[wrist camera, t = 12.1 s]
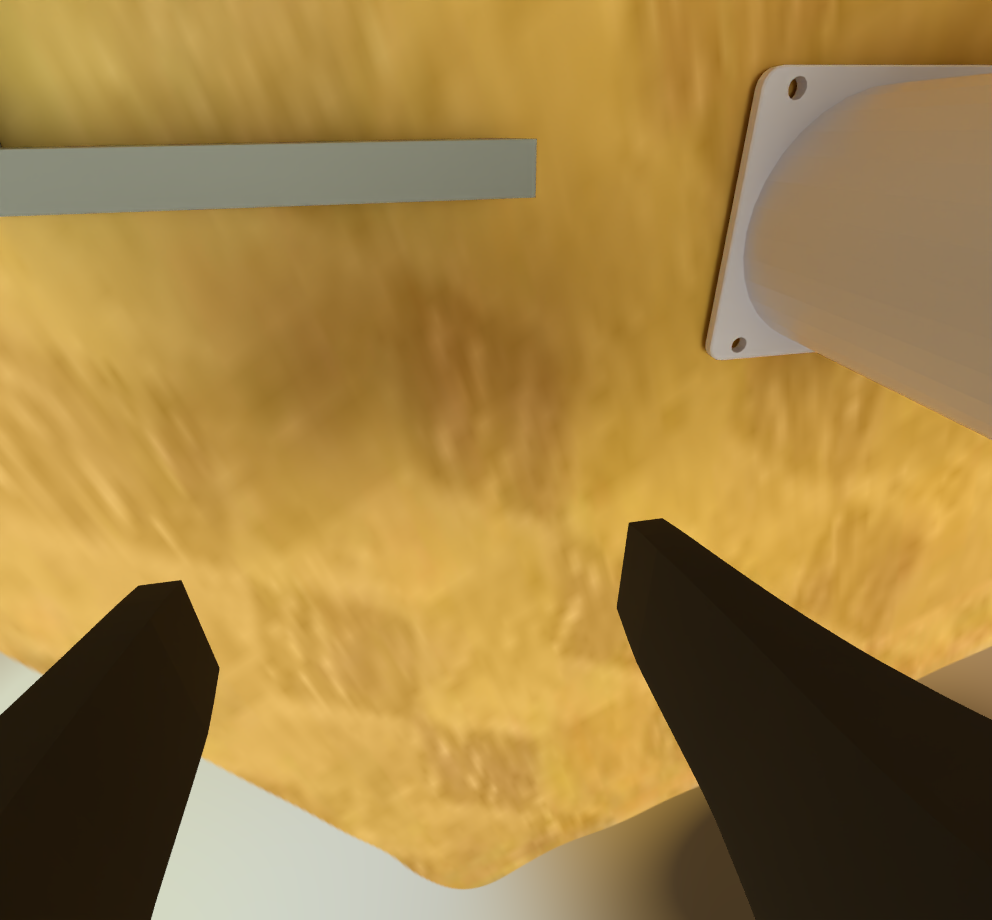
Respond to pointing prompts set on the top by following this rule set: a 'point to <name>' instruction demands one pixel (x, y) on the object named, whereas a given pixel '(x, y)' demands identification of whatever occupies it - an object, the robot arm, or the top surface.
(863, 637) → the top surface
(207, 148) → the open side box
